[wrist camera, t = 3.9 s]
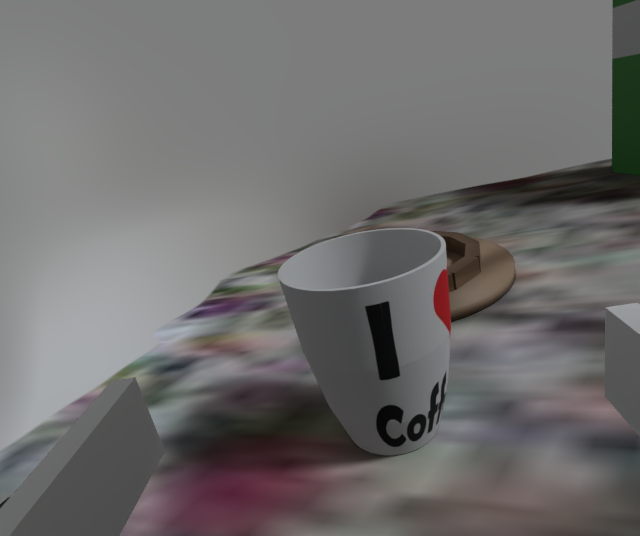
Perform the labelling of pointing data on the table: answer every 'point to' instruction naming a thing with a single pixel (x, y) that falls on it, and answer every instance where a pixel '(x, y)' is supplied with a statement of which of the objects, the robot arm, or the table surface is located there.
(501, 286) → the round tray
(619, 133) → the hardback book
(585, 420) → the table surface
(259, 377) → the table surface
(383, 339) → the cup
